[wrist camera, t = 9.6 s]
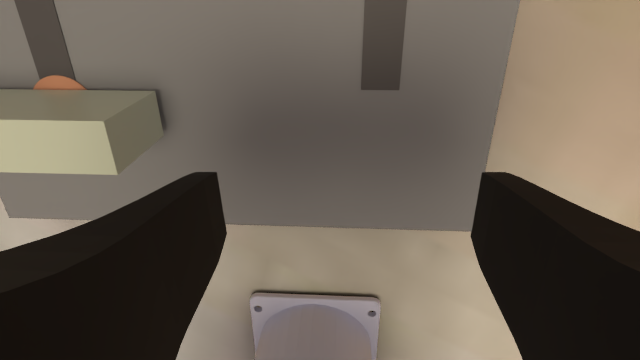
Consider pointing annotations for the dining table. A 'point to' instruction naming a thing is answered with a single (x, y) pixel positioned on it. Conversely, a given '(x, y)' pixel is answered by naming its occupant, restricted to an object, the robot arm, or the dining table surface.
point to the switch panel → (277, 103)
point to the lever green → (76, 130)
